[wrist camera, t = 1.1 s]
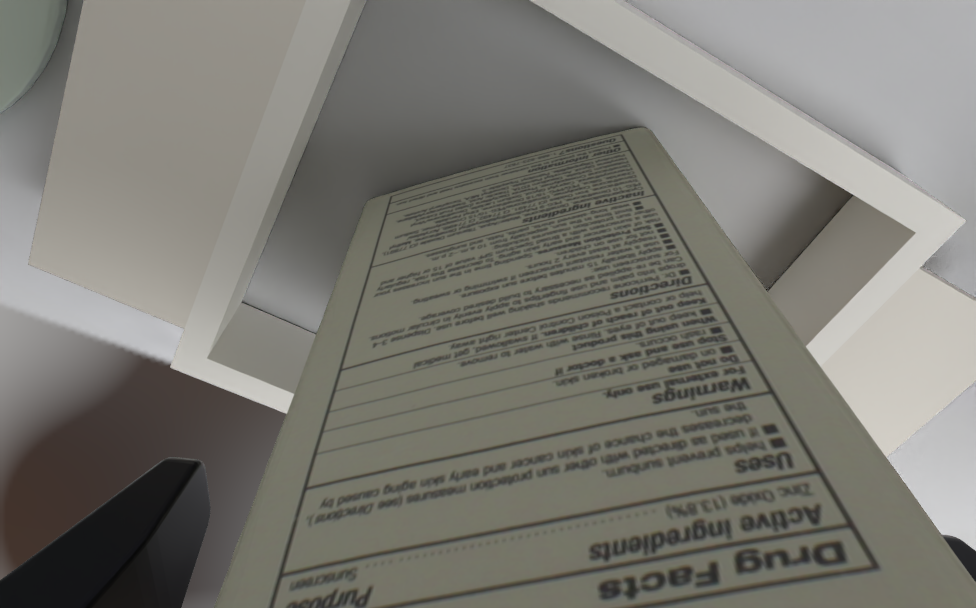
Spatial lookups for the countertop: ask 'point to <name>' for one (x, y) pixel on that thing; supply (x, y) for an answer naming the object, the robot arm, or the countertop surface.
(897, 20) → the countertop surface
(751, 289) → the skincare box
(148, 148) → the white rectangular tray
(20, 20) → the coaster
